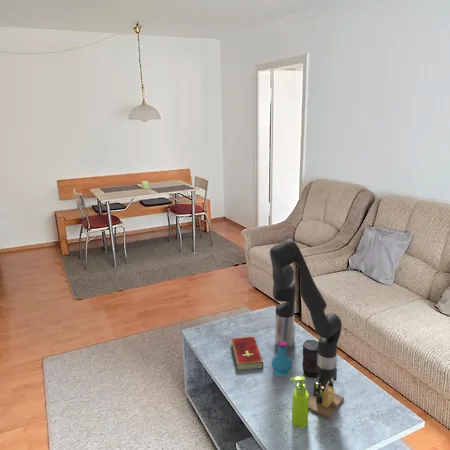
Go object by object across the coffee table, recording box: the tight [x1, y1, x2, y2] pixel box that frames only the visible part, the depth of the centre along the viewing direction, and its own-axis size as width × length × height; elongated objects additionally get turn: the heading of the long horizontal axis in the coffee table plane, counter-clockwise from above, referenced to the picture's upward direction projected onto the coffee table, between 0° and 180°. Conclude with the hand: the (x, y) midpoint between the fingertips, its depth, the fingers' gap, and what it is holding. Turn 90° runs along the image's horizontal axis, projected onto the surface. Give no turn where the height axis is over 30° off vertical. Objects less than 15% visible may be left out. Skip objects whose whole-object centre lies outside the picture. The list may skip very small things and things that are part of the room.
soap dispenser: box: [290, 375, 310, 429], centre depth 152 cm, size 6×7×20 cm
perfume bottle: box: [271, 340, 293, 377], centre depth 181 cm, size 9×9×15 cm
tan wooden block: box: [316, 385, 335, 407], centre depth 162 cm, size 5×5×6 cm
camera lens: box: [302, 339, 319, 379], centre depth 179 cm, size 8×8×15 cm
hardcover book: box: [230, 335, 264, 371], centre depth 195 cm, size 12×21×4 cm, turn 7°
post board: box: [308, 392, 345, 420], centre depth 163 cm, size 14×10×6 cm
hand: (324, 397), depth 162 cm, fingers open, 8 cm apart
